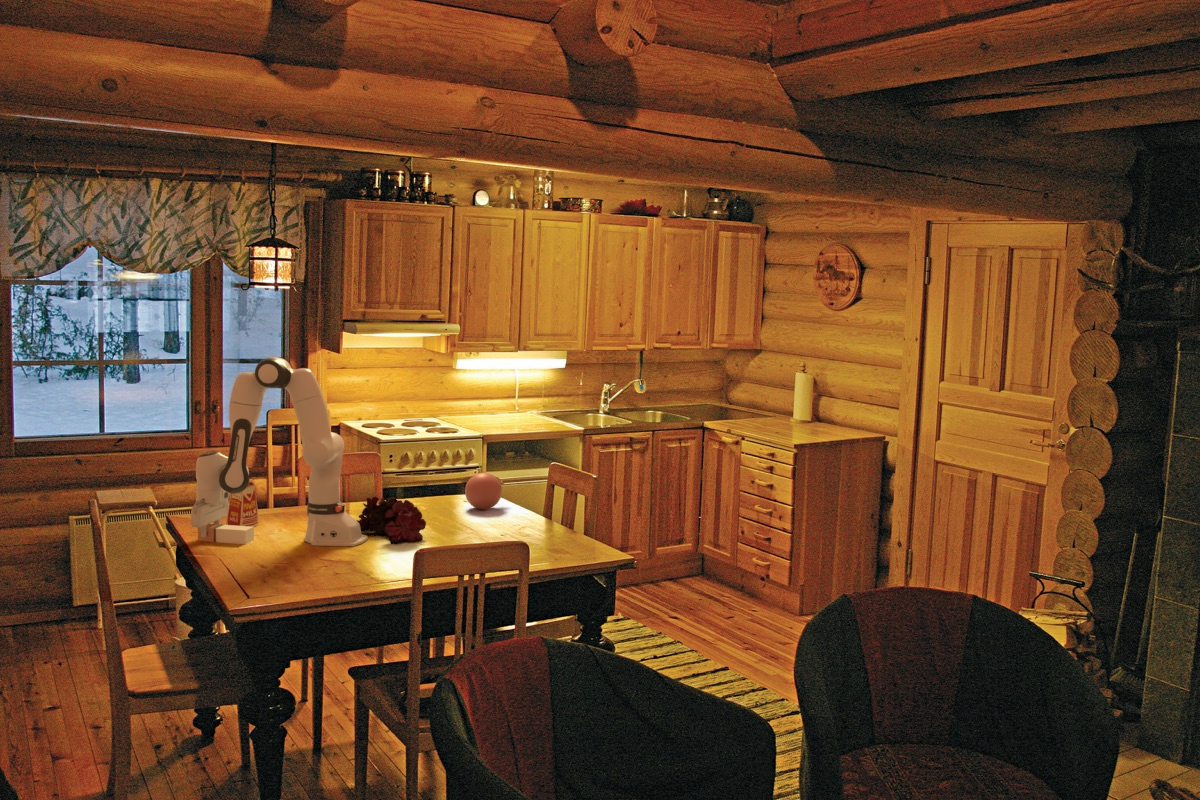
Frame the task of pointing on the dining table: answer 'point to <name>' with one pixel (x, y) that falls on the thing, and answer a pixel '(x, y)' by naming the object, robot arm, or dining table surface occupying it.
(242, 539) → the cream rectangular block
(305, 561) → the dining table surface
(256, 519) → the milk carton
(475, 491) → the balloon
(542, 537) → the dining table surface
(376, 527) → the flower arrangement
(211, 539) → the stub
